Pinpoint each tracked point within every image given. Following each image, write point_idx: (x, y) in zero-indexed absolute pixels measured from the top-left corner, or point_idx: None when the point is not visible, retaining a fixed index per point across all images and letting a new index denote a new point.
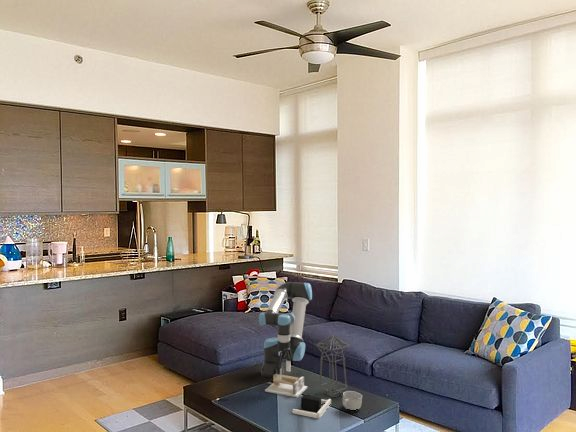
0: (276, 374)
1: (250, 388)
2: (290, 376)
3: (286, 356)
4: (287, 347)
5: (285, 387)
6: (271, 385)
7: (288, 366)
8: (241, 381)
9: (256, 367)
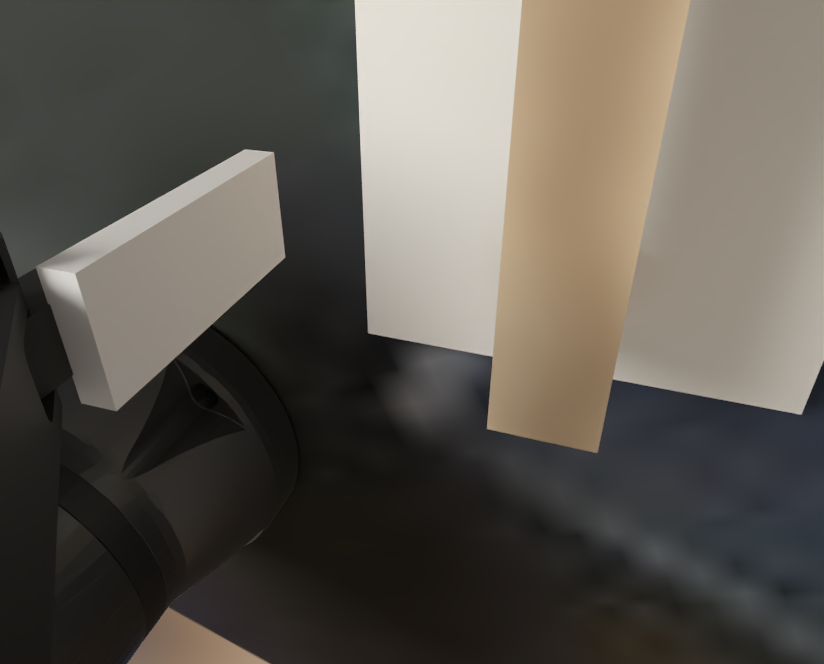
0: (527, 404)
1: (716, 576)
2: (540, 29)
3: (31, 551)
4: None
5: None
6: None
7: (207, 250)
8: (526, 660)
9: None
